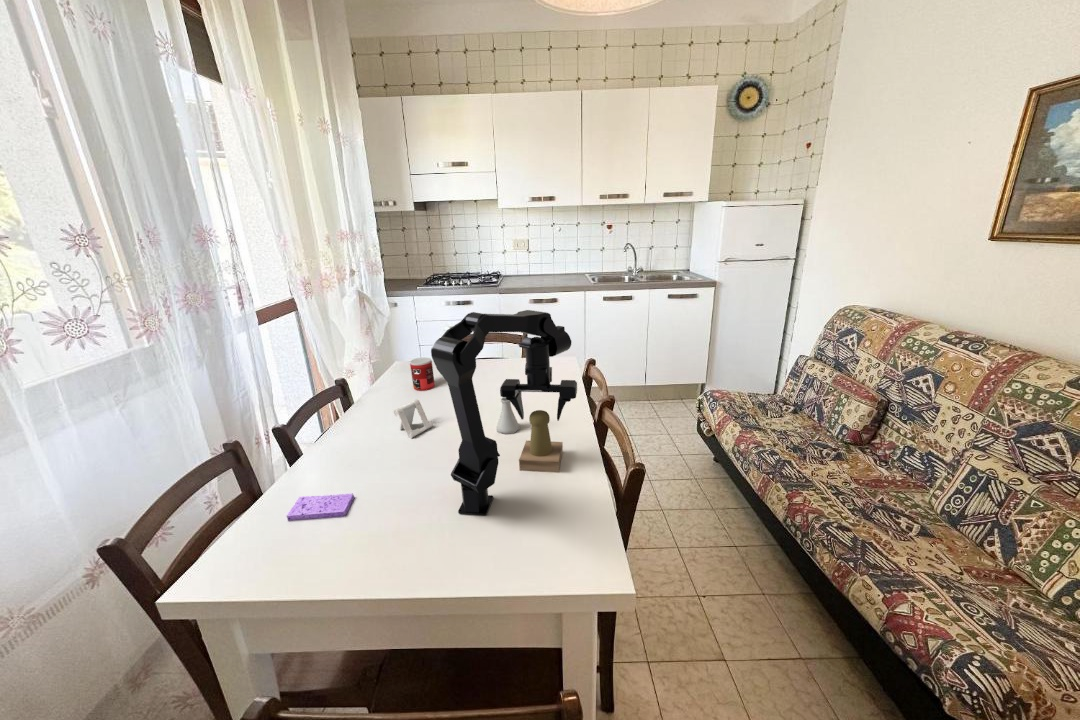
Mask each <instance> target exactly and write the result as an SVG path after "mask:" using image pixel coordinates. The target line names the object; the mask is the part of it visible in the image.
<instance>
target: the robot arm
mask: <svg viewBox="0 0 1080 720" xmlns="http://www.w3.org/2000/svg"><path fill="white" fill-rule="evenodd" d="M565 330H566V329H565V326H563V325H562V326H561V325H556V324H555V321H553V318H552V315H551V314H550V313H549V312H546V311H544V312H543V311H539V310H531V309H525V310H521V311H518V312H517V313H515V314H509V313H508V314H507V313H506V314H505V313H481V312H475V311H472V312H469V313H467V314H466V315H465V316H464V317H463V318H462V319H461V321H459V322H458V323H456V324H455V325H452V326H451V327H449V329H447V330H446V331H445V332H444V334H443V335H441V337H439V338H438V339H437V340H436V341H435V342H434V344H433V346H432V347H431V349H430V354H431V360H432V362H433V364H434V365H435V368H436V370H437V371H438V372H439V374H440V375H441V377H443V379H444V380H445V381H446V382H447V385H448V389H449V394H450V397H451V402H452V405H453V409H454V413H455V416H456V417H455V418H456V421H457V426H458V428H459V433H460V437H461V442H460V444H459V448H458V459H457V462H456V463H455V465H454V467H453V469H452V471H451V473H450V476H451V478H452V480H453V481H455V482H457V483H458V484H459V483H460V488H461V497H462V503H461V505H460V506H459V508H458V511H457V512H458V514H463V515H474V516H475V515H476V516H487V515H488V513H489V510H490V508H491V505H492V502H493V500H494V496H493V495H490V494H489V490H488V489H489V488H490V487H492V486H494V485H495V483H496V478H497V472H498V466H499V464H500V463H499V457H500V456H501V455H500V453H499V451H498V444H497V441H496V440H495V439H492V438H490V437H487V436H486V435H485V431H484V426H483V421H482V417H481V413H480V408H479V405H478V399H477V395H476V391H475V386H474V382H473V377H474V374H475V371H476V369H477V356H479V354H480V353H481V352H482V350H483V349H484V347H485V346H484V345H485V342H486V337H487V336H488V334H489V333H522V334H524V335H525V334H526V335H531V336H534V337H527V336H524V338H523V339H522V341H521V342H520V343H519V344H518V347H519V348H522V349H525V366H524V367H525V368H524V374H525V376H526V382H527V383H521V380H520V379H518V378H517V379H516V378H505V380H504V381H503V382H502V384H501V386H500V388H499V389H500V390H499V391H500V392H499V394H500V397H501V398H503V397H506V400H510V404H512V406H513V407H514V408H515V410H516V412H517V414H518V416H519V417H520V420H523V421H524V418H525V414H524V413H525V412H524V406H523V399H522V392H523V393H526V392H527V393H558V394H559V396H558V402H557V412H556V413H557V414H556V419H557V422H558V421H560V418H561V416H562V412H563V409H564V408H565V405H566V403H568V402H571V401H572V400H574V399H576V398H577V394H578V382H577V381H576V380H572V379H561V381H560V384H551V383H552V382H553V367H551V366H550V357H552V358H553V357H554V356H557V355H560V354H562V353H564V352H566V351H567V352H568V350H570V348H571V346H572V338H571V336H570V335H569V334H568V332H566V331H565ZM471 334H472V336H471V338H470V339H469V340H468V341H467V340H463V339H466V338H467V337H469V336H470V335H471Z"/></svg>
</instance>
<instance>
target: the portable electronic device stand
mask: <svg viewBox="0 0 1080 720" xmlns="http://www.w3.org/2000/svg"><path fill="white" fill-rule="evenodd" d="M415 410H417V413H418V415H419V416H420V420H421V421H422V424H423V427H420V428H418V427H417V428H416V429H413V430H412V427H411V426H412V424H413V420H414V416H415ZM392 413H393V414H394V416H395V417H398V418H399V419H400V427H399V431H402V430H404V431H405V433H406V436H407V438H409V439H412V438H415V437H416V436H418V435H420V434H422V433H423V432H425V431H427V430H429V429H431V428H432V427H433V426H434V422H433V420H430V421H429V420H428V417H427V415H426V412H425V411H424V408H423V406H422V404H421V402H420V400H419V399H414V400H413V401H410V402H408V403H406V404H404V405H401V406H399V407H397V408H395V409H393V412H392Z"/></svg>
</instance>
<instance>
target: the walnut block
mask: <svg viewBox="0 0 1080 720" xmlns="http://www.w3.org/2000/svg"><path fill="white" fill-rule="evenodd" d="M551 445H552V452H551V453H550V454H549V455H547V456H541V457H538V456H534V455H532V454H530V452H529V451H530V440H525V443H524V445H523V448H522V451H521V454H520V456H519V459H518V463H519V471H523V472H524V471H525V472H528V471H529V472H531V471H532V472H547V473H560V468H561V462H562V457H563V452H564V449H563V448H564V446H563V441H551Z"/></svg>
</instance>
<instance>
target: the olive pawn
mask: <svg viewBox="0 0 1080 720" xmlns="http://www.w3.org/2000/svg"><path fill="white" fill-rule="evenodd" d="M528 417H529V423H530V425H531V431H530V440H529V441H530V451H529V452H530V454H532V455H534V456H538V457H541V456H547V455H549V454H550V453H551V452H552V445H551V442H552V441H551V436H550V434H551V433H550V428H549V423H550V420H551V419H550V414H549V413H548V412H547V411H546V410H543V409H538V410H534V411H532V412H531V413H530V415H529V416H528Z"/></svg>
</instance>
